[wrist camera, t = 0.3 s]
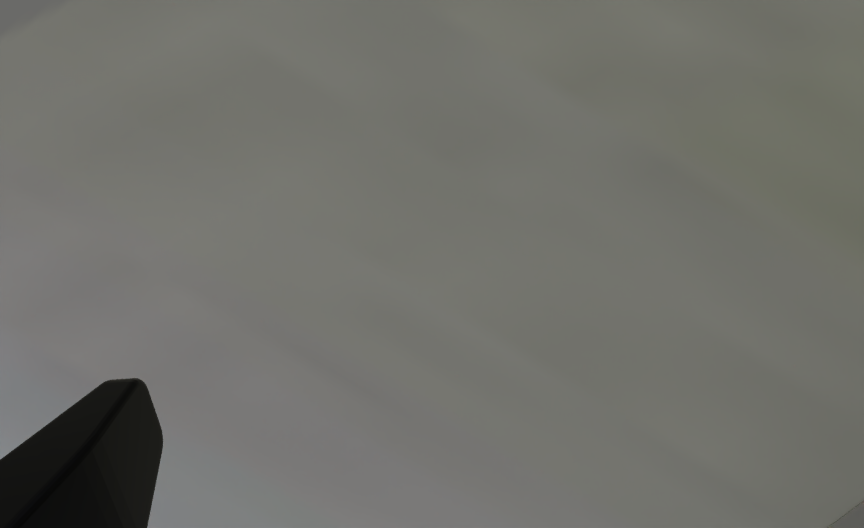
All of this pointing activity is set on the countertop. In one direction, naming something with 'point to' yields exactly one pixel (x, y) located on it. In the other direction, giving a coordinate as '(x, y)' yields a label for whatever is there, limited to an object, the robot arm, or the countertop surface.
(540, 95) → the countertop surface
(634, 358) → the countertop surface
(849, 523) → the peg box
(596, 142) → the countertop surface
